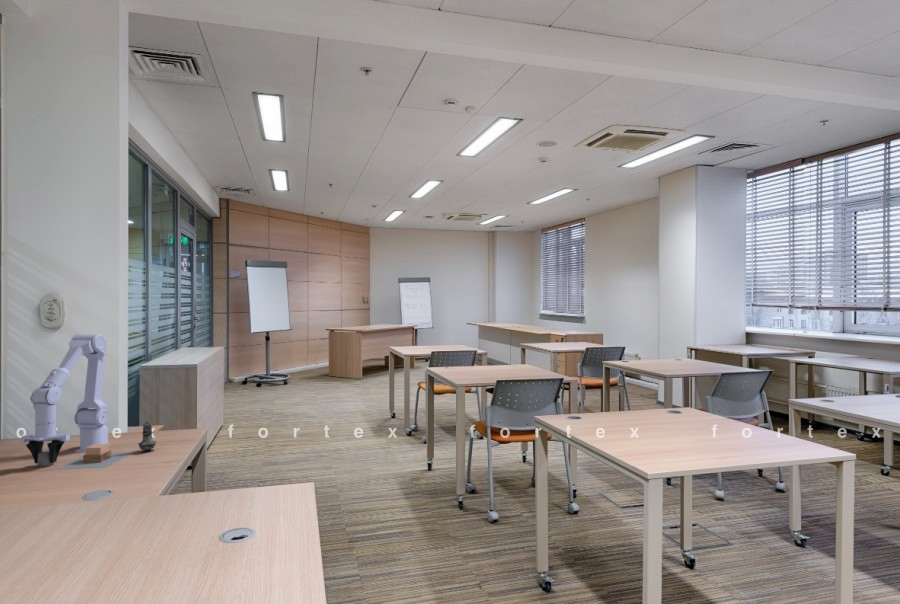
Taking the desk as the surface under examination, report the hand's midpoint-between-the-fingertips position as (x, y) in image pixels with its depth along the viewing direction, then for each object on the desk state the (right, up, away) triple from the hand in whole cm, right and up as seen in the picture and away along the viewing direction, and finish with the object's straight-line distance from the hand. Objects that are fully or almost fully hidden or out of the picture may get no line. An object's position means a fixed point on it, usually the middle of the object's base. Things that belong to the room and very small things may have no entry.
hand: (45, 462), depth 177 cm
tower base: (+14, -1, +6) cm, 15 cm away
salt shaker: (+25, -2, +17) cm, 30 cm away
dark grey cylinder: (0, -1, 0) cm, 1 cm away
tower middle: (+14, +1, +6) cm, 15 cm away
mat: (+14, -1, +6) cm, 15 cm away
